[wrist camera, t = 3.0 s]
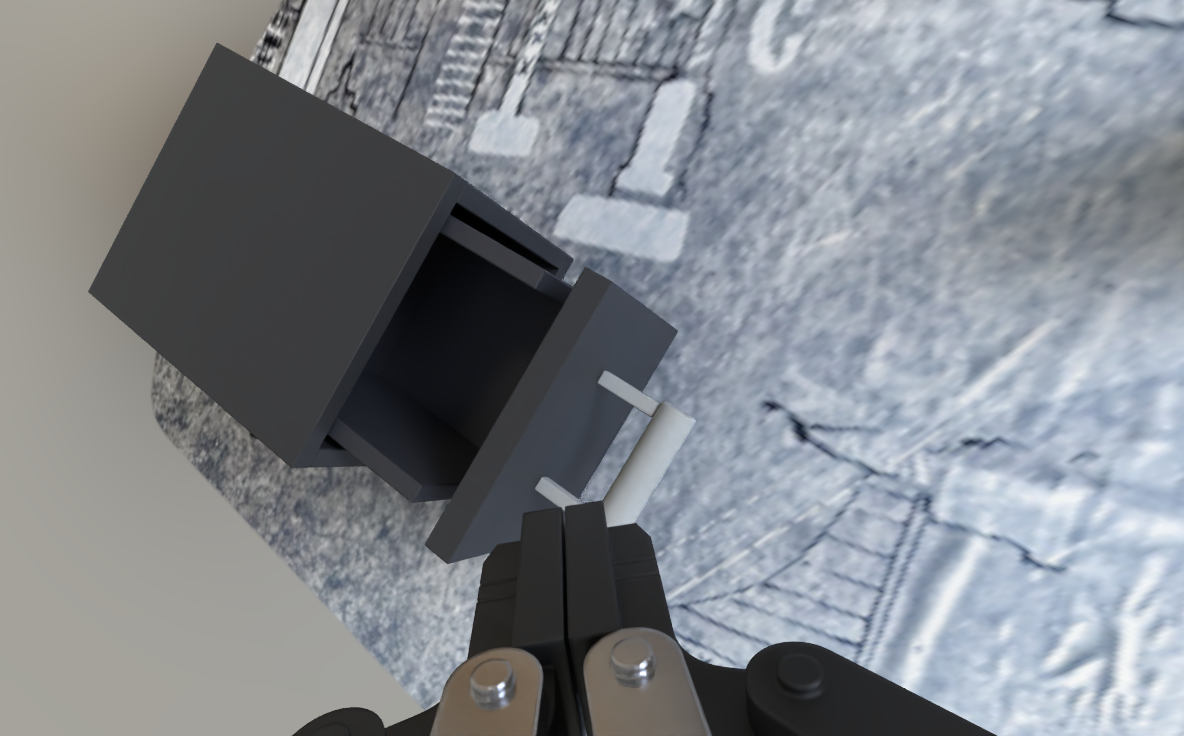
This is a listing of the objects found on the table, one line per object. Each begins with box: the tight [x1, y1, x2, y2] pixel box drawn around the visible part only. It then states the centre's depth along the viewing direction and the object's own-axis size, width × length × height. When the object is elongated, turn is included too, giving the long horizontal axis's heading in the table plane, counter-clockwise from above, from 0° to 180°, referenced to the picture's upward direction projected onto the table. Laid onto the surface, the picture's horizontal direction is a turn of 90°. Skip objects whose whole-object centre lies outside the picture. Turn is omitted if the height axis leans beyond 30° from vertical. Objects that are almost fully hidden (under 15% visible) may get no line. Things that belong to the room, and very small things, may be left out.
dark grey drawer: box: [327, 214, 696, 564], centre depth 30 cm, size 18×12×10 cm, turn 58°
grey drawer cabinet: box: [88, 43, 573, 468], centre depth 34 cm, size 15×13×12 cm
